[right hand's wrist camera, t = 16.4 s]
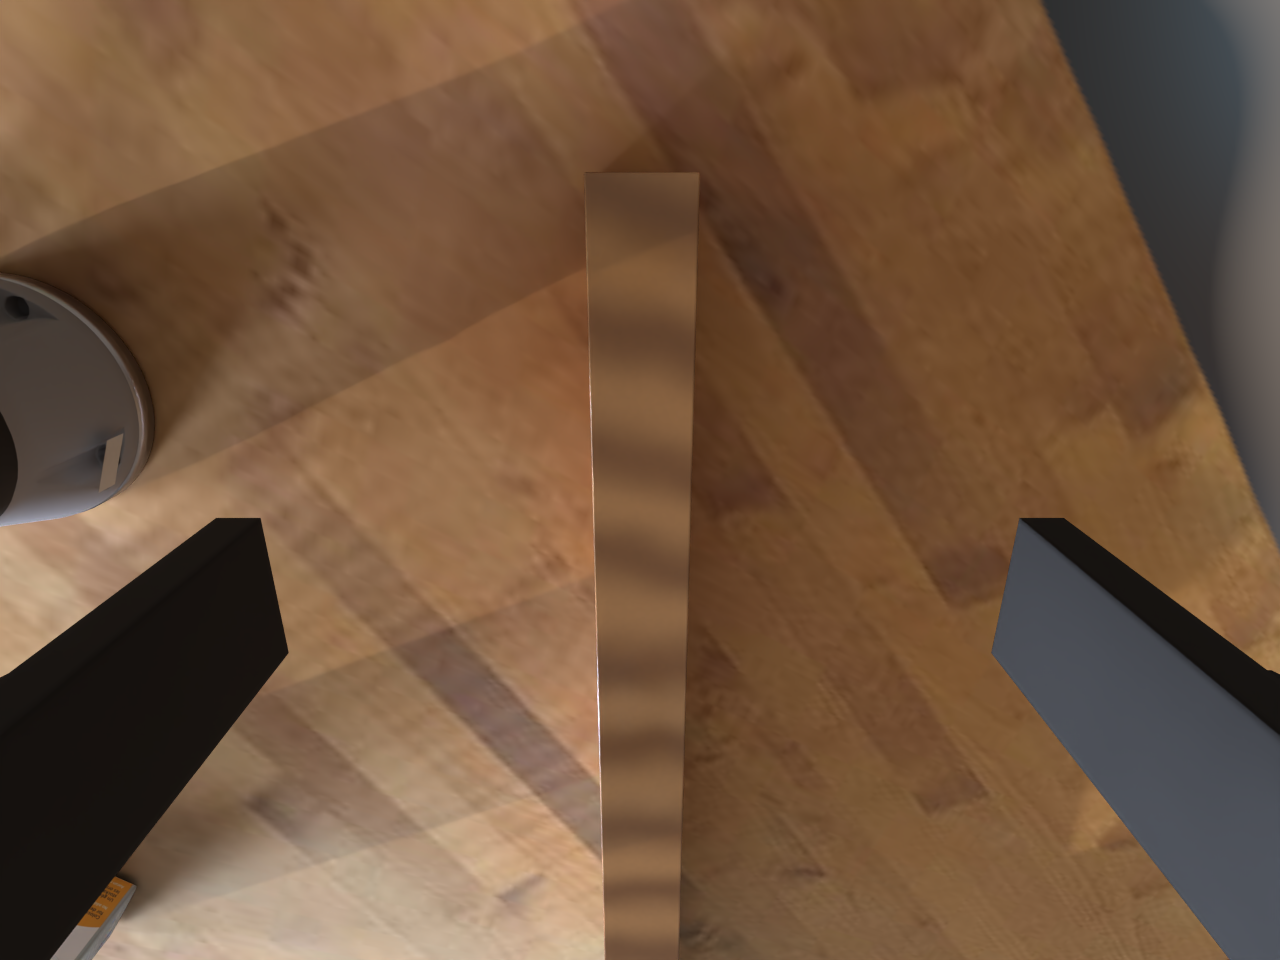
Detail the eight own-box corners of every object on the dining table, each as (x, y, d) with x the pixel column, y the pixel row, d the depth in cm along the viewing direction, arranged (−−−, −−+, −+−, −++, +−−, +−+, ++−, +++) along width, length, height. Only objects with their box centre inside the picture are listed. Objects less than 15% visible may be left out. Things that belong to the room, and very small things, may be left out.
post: (594, 177, 41) (583, 172, 34) (690, 177, 41) (700, 172, 34) (613, 1077, 70) (610, 1177, 63) (669, 1078, 70) (672, 1177, 63)
